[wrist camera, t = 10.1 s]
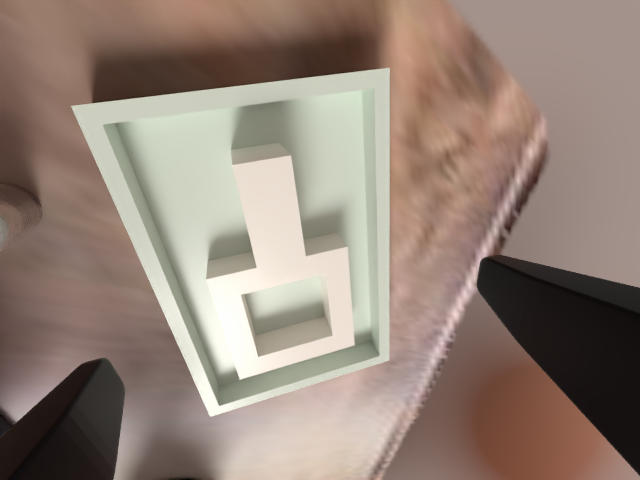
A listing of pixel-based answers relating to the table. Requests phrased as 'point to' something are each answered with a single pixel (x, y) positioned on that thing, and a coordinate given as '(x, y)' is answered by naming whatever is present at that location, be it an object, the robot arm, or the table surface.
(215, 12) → the table surface
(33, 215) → the grey knob with bar
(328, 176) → the tray
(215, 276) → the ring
